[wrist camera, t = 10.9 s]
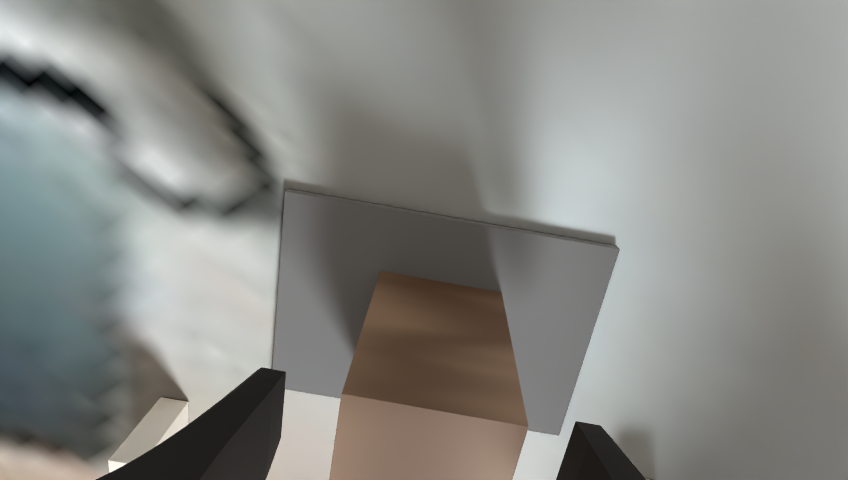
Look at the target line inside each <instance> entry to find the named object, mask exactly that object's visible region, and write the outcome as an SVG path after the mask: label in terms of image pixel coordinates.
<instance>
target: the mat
mask: <svg viewBox="0 0 848 480" xmlns="http://www.w3.org/2000/svg"><path fill="white" fill-rule="evenodd" d="M619 250H620V249H619V248H618V247H617V246H615V245H609V244H604V243H598V242H592V241H586V240H581V239H575V238H569V237H563V236H558V235H552V234H546V233H540V232H535V231H529V230H523V229H517V228H512V227H506V226H500V225H494V224H488V223H483V222H477V221H471V220H465V219H460V218H454V217H448V216H442V215H437V214H431V213H425V212H419V211H414V210H408V209H402V208H396V207H391V206H385V205H379V204H373V203H368V202H362V201H356V200H350V199H345V198H339V197H333V196H327V195H322V194H316V193H310V192H304V191H298V190H293V189H287V190H286V191H285V197H284V212H283V226H282V240H281V254H280V268H279V283H278V297H277V311H276V325H275V339H274V354H273V368H272V369H274V370H279V371H285V372H286V380H285V389H287V390H293V391H299V392H305V393H311V394H317V395H323V396H329V397H335V398H341V394H342V391H343V387H344V384H345V381H346V378H347V375H348V372H349V369H350V365H351V362H352V359H353V356H354V353H355V350H356V346H357V343H358V340H359V337H360V334H361V331H362V328H363V324H364V321H365V318H366V315H367V312H368V309H369V305H370V302H371V299H372V296H373V293H374V290H375V287H376V283H377V280H378V277H379V274H380V271H385V272H391V273H396V274H402V275H407V276H413V277H418V278H424V279H429V280H435V281H441V282H446V283H452V284H457V285H463V286H468V287H474V288H479V289H485V290H490V291H496V292H501V293H502V296H503V301H504V306H505V311H506V316H507V321H508V326H509V331H510V336H511V341H512V347H513V352H514V357H515V362H516V367H517V372H518V377H519V382H520V387H521V392H522V397H523V402H524V407H525V412H526V417H527V422H528V430H529V431H535V432H541V433H547V434H553V435H559V434H560V430H561V427H562V424H563V421H564V418H565V415H566V412H567V409H568V406H569V403H570V400H571V397H572V394H573V391H574V388H575V385H576V381H577V378H578V375H579V372H580V369H581V366H582V363H583V360H584V357H585V354H586V351H587V348H588V345H589V342H590V339H591V335H592V332H593V329H594V326H595V323H596V320H597V317H598V314H599V311H600V308H601V305H602V302H603V299H604V296H605V293H606V289H607V286H608V283H609V280H610V277H611V274H612V271H613V268H614V265H615V262H616V259H617V256H618V253H619Z"/></svg>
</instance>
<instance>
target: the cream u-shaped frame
mask: <svg viewBox="0 0 848 480" xmlns="http://www.w3.org/2000/svg"><path fill="white" fill-rule="evenodd" d="M187 425H188V402H186V401H180V400H174V399H168V398H163V397H160V398H159V400H158V401H157V402H156V403H155V405H154V406H153V407H152V408H151V409H150V411H149V412H148V413H147V414H146V415H145V417H144V418H143V419H142V420H141V421H140V423H139V424H138V425H137V426H136V428H135V429H134V430H133V431H132V432H131V434H130V435H129V436H128V437H127V438H126V440H125V441H124V442H123V443H122V444H121V446H120V447H119V448H118V449H117V451H116V452H115V453H114V454H113V455H112V457H111V458H110V459H109V460H108V463H109V473H110V472H112V471H114V470H116V469H118V468H120V467H122V466H124V465H125V464H127V463H129V462H131V461H132V460H134V459H136V458H137V457H139V456H141V455H143V454H144V453H146V452H147V451H149V450H151V449H152V448H154V447H155V446H157V445H159V444H160V443H162V442H163V441H165V440H166V439H168V438H169V437H171V436H172V435H174V434H175V433H176V432H178V431H179V430H181V429H182V428H184V427H185V426H187ZM646 480H648V479H646Z"/></svg>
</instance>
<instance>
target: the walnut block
mask: <svg viewBox="0 0 848 480" xmlns="http://www.w3.org/2000/svg"><path fill="white" fill-rule="evenodd" d="M527 430H528V422H527V417H526V412H525V407H524V402H523V397H522V392H521V387H520V382H519V377H518V372H517V367H516V362H515V357H514V352H513V347H512V341H511V336H510V331H509V326H508V321H507V316H506V311H505V306H504V301H503V296H502V293H501V292H496V291H490V290H485V289H479V288H474V287H468V286H463V285H457V284H452V283H446V282H441V281H435V280H429V279H424V278H418V277H413V276H407V275H402V274H396V273H391V272H385V271H380V274H379V277H378V280H377V283H376V287H375V290H374V293H373V296H372V299H371V302H370V305H369V309H368V312H367V315H366V318H365V321H364V324H363V328H362V331H361V334H360V337H359V340H358V343H357V346H356V350H355V353H354V356H353V359H352V362H351V365H350V369H349V372H348V375H347V378H346V381H345V384H344V387H343V391H342V394H341V401H340V408H339V415H338V422H337V429H336V436H335V443H334V450H333V457H332V464H331V471H330V478H329V480H512V478H513V475H514V472H515V469H516V466H517V462H518V459H519V456H520V453H521V449H522V446H523V443H524V440H525V436H526V433H527Z"/></svg>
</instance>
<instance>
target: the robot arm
mask: <svg viewBox="0 0 848 480" xmlns="http://www.w3.org/2000/svg"><path fill="white" fill-rule="evenodd" d="M285 380H286V372H285V371H279V370H274V369H268V368H260V369H259V370H257V371H256V372H255V373H253V374H252V375H251V376H250V377H249V378H247V379H246V380H245V381H244V382H242V383H241V384H240V385H239V386H238V387H236V388H235V389H234V390H233V391H232V392H230V393H229V394H228V395H227V396H225V397H224V398H223V399H222V400H220V401H219V402H218V403H216V404H215V405H214V406H212V407H211V408H210V409H208V410H207V411H206V412H205V413H203V414H202V415H201V416H199V417H198V418H197V419H195V420H194V421H192V422H191V423H190V424H188V425H187V426H185V427H184V428H182V429H181V430H179V431H178V432H176V433H175V434H174V435H172V436H171V437H169V438H168V439H166V440H165V441H163V442H162V443H160V444H159V445H157V446H155V447H154V448H152V449H151V450H149V451H147V452H146V453H144V454H143V455H141V456H139V457H137V458H136V459H134V460H132V461H131V462H129V463H127V464H125V465H124V466H122V467H120V468H118V469H116V470H114V471H112V472H110V473H108V474H106V475H104V476H102V477H100V478H98V479H96V480H265V479H266V477H267V475H268V472H269V469H270V467H271V464H272V461H273V458H274V456H275V453H276V450H277V447H278V444H279V441H280V438H281V428H282V416H283V404H284V392H285ZM556 480H646V479H645V478H644V477H643V476H642V474H641V473H640V472H639V471H638V470H637V468H636V467H635V466H634V465H633V464H632V462H631V461H630V460H629V459H628V458H627V456H626V455H625V454H624V453H623V452H622V450H621V449H620V448H619V447H618V446H617V444H616V443H615V442H614V441H613V440H612V438H611V437H610V436H609V435H608V434H607V433H606V431H605V430H604V429H603V428H602V427H601V426H600V425H594V424H588V423H582V422H577V421H576V422H575V425H574V428H573V431H572V434H571V437H570V440H569V443H568V446H567V449H566V452H565V455H564V458H563V461H562V464H561V467H560V470H559V473H558V476H557V479H556Z"/></svg>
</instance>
